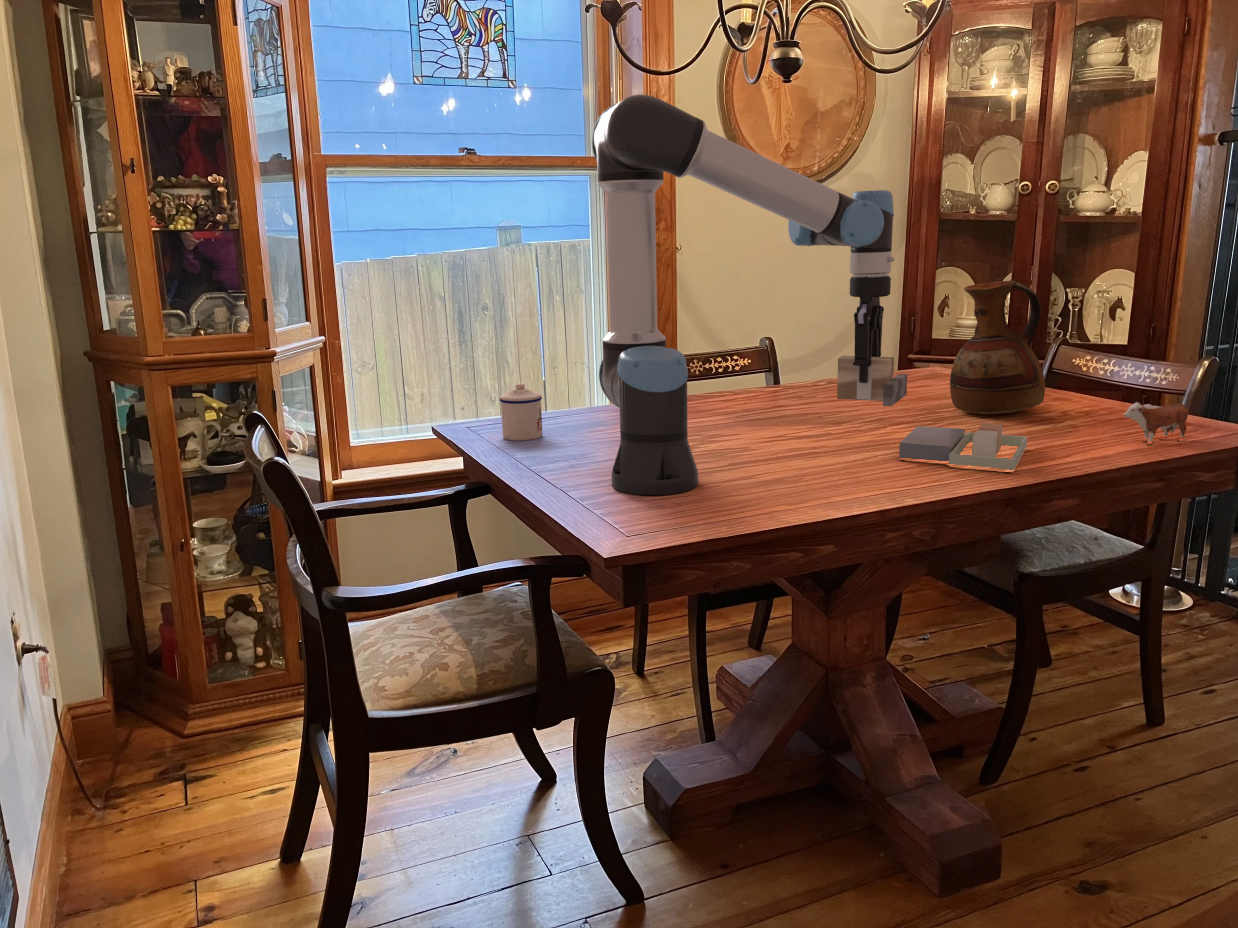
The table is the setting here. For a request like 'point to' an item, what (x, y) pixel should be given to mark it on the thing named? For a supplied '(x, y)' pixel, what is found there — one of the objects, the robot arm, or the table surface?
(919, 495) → the table surface
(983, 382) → the ceramic pitcher
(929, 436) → the slate board
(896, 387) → the beige slab
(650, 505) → the table surface
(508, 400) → the teacup with lid
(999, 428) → the reddish brown block
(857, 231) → the robot arm
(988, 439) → the light grey block
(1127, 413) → the bull figurine
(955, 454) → the tray
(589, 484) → the table surface
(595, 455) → the table surface
